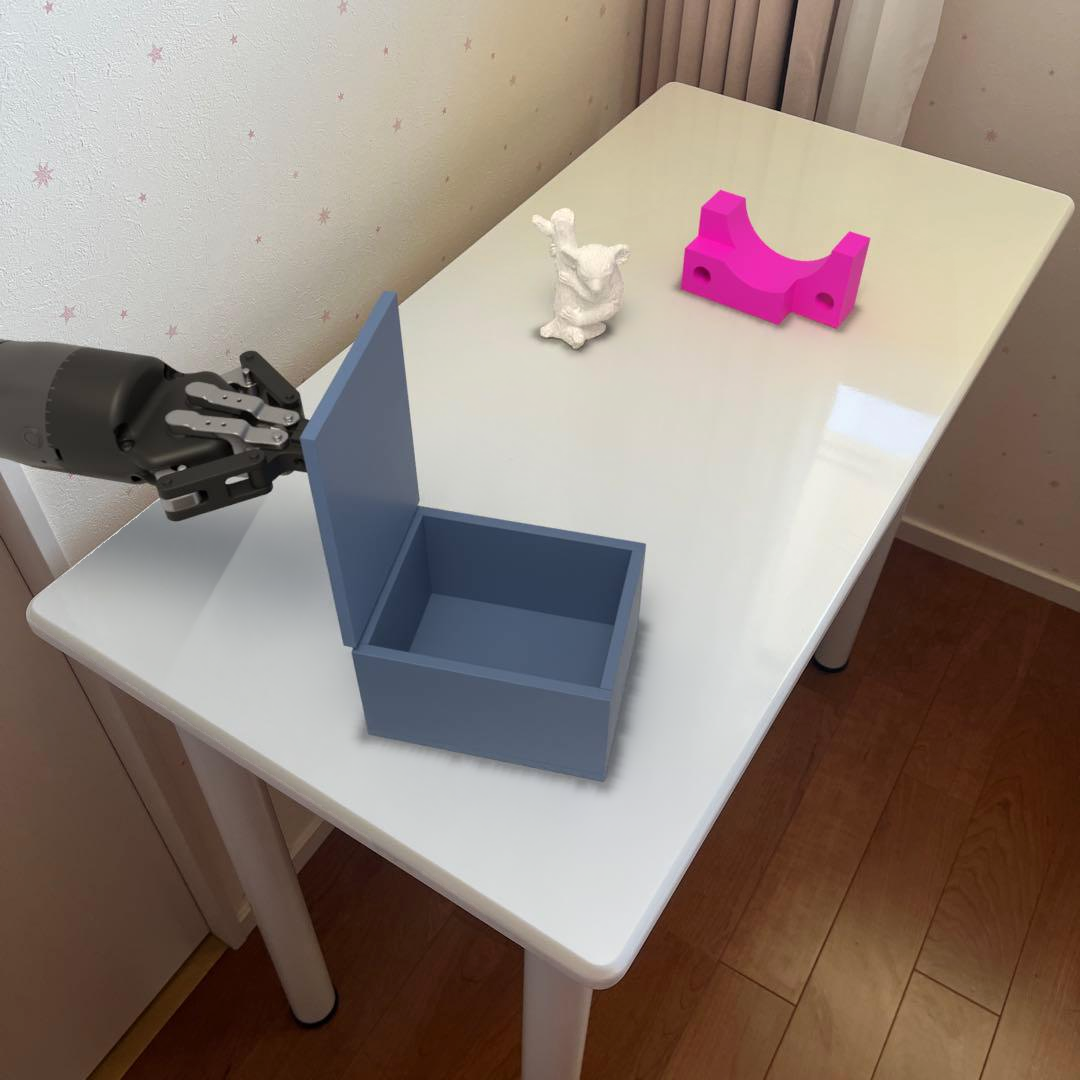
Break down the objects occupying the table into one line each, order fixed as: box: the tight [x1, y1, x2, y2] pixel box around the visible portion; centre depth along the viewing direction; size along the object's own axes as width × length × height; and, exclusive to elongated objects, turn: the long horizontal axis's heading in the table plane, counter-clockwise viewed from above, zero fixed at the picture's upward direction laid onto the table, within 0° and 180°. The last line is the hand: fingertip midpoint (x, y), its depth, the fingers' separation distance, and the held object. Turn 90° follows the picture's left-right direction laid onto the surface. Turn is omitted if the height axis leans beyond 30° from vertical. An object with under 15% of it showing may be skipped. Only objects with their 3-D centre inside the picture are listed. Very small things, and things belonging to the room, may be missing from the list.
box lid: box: [300, 289, 421, 649], centre depth 63 cm, size 16×13×1 cm
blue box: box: [350, 505, 647, 782], centre depth 71 cm, size 16×13×9 cm
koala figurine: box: [531, 207, 631, 350], centre depth 97 cm, size 8×7×12 cm
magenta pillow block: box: [680, 189, 871, 329], centre depth 102 cm, size 15×6×8 cm, turn 56°
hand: (359, 454), depth 62 cm, fingers closed
